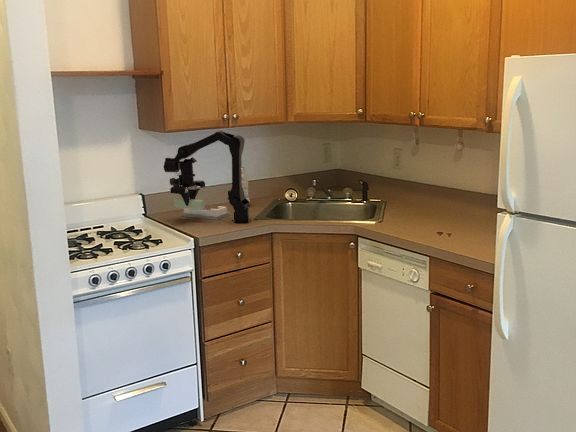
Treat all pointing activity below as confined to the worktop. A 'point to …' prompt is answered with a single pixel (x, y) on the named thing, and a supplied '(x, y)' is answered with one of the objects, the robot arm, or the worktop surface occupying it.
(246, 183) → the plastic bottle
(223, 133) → the robot arm
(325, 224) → the worktop surface
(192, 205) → the pale green bar
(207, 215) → the cradle
